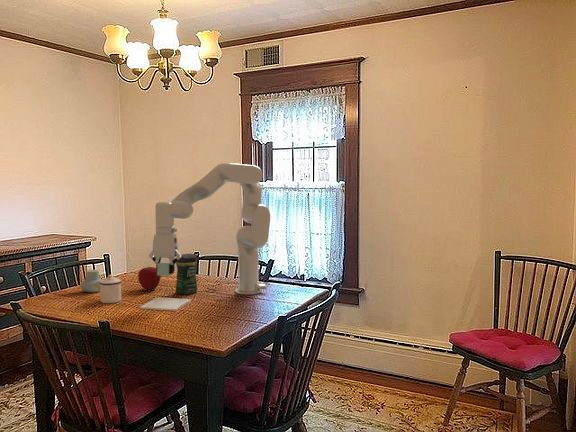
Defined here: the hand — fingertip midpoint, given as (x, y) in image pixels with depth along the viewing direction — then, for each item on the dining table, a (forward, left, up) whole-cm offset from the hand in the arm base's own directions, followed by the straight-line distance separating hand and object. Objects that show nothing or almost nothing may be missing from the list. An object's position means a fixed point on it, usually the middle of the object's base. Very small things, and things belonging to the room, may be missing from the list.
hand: (165, 272), depth 214 cm
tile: (0, 0, -14) cm, 14 cm away
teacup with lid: (+28, -1, -14) cm, 31 cm away
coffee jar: (0, -22, -14) cm, 26 cm away
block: (0, 0, -1) cm, 1 cm away
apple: (+20, -24, -14) cm, 34 cm away
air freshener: (+45, -15, -14) cm, 50 cm away
